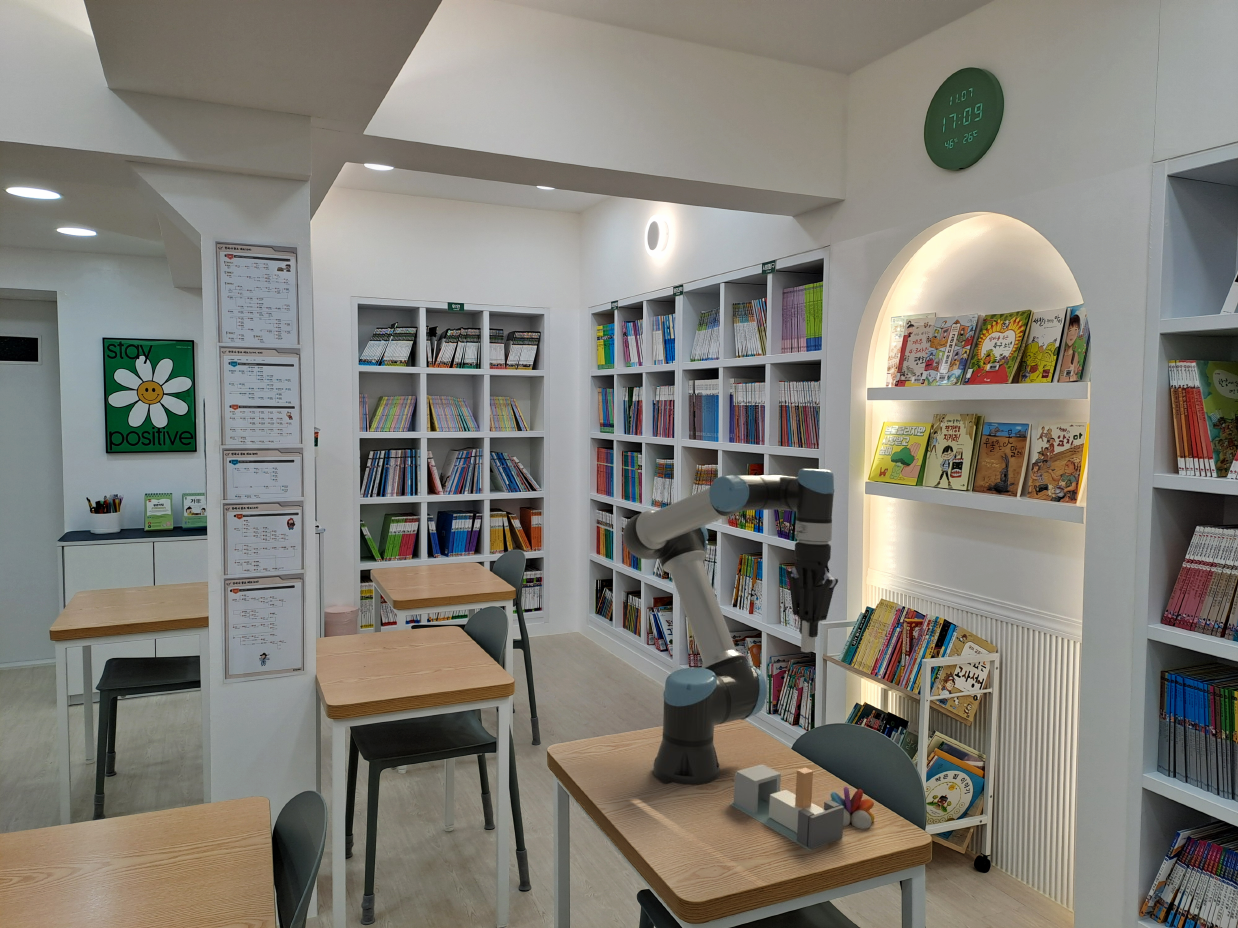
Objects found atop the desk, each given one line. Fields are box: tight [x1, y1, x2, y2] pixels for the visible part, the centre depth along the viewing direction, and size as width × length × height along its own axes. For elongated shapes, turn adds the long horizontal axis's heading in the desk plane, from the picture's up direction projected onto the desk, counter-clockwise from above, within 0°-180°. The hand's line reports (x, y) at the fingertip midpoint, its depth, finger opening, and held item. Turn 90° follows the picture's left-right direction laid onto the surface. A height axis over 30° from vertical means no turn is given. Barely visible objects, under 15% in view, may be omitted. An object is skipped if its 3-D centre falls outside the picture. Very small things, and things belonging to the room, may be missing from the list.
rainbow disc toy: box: [830, 786, 875, 830], centre depth 169 cm, size 8×10×7 cm
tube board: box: [728, 763, 845, 851], centre depth 167 cm, size 22×10×8 cm, turn 35°
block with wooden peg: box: [769, 767, 826, 833], centre depth 164 cm, size 12×5×12 cm, turn 35°
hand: (807, 650), depth 177 cm, fingers closed
